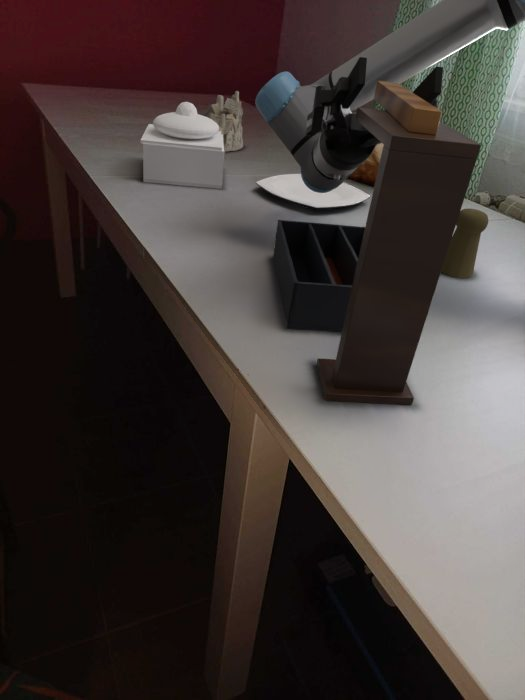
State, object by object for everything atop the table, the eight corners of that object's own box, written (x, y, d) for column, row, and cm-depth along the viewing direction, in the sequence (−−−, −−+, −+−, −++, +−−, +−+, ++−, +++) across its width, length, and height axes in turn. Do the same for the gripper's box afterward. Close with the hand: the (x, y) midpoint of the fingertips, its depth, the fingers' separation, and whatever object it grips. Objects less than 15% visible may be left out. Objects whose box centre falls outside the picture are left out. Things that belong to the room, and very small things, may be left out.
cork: (441, 260, 99) (459, 202, 93) (474, 269, 97) (495, 210, 91) (435, 271, 94) (454, 210, 89) (470, 281, 93) (492, 219, 87)
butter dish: (222, 188, 121) (227, 113, 113) (140, 181, 119) (139, 104, 111) (221, 168, 136) (225, 100, 128) (148, 161, 134) (148, 91, 125)
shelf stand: (307, 330, 72) (348, 106, 57) (379, 335, 73) (438, 116, 58) (325, 400, 60) (384, 136, 45) (411, 404, 61) (497, 148, 46)
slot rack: (272, 258, 92) (277, 219, 88) (361, 264, 93) (369, 227, 90) (287, 328, 72) (294, 282, 68) (398, 335, 74) (410, 291, 70)
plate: (241, 188, 123) (242, 180, 122) (309, 178, 138) (310, 170, 137) (315, 221, 110) (316, 211, 109) (381, 205, 124) (383, 197, 123)
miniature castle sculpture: (213, 134, 167) (215, 82, 158) (253, 149, 159) (258, 94, 150) (176, 143, 156) (176, 87, 147) (217, 159, 149) (220, 101, 140)
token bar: (373, 98, 65) (377, 80, 63) (394, 101, 65) (398, 83, 64) (408, 132, 48) (414, 107, 47) (436, 135, 48) (442, 111, 47)
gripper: (408, 177, 80) (490, 122, 57) (273, 164, 78) (302, 101, 55) (412, 126, 80) (496, 50, 57) (276, 111, 77) (307, 26, 55)
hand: (400, 75), depth 56 cm, fingers open, 8 cm apart
